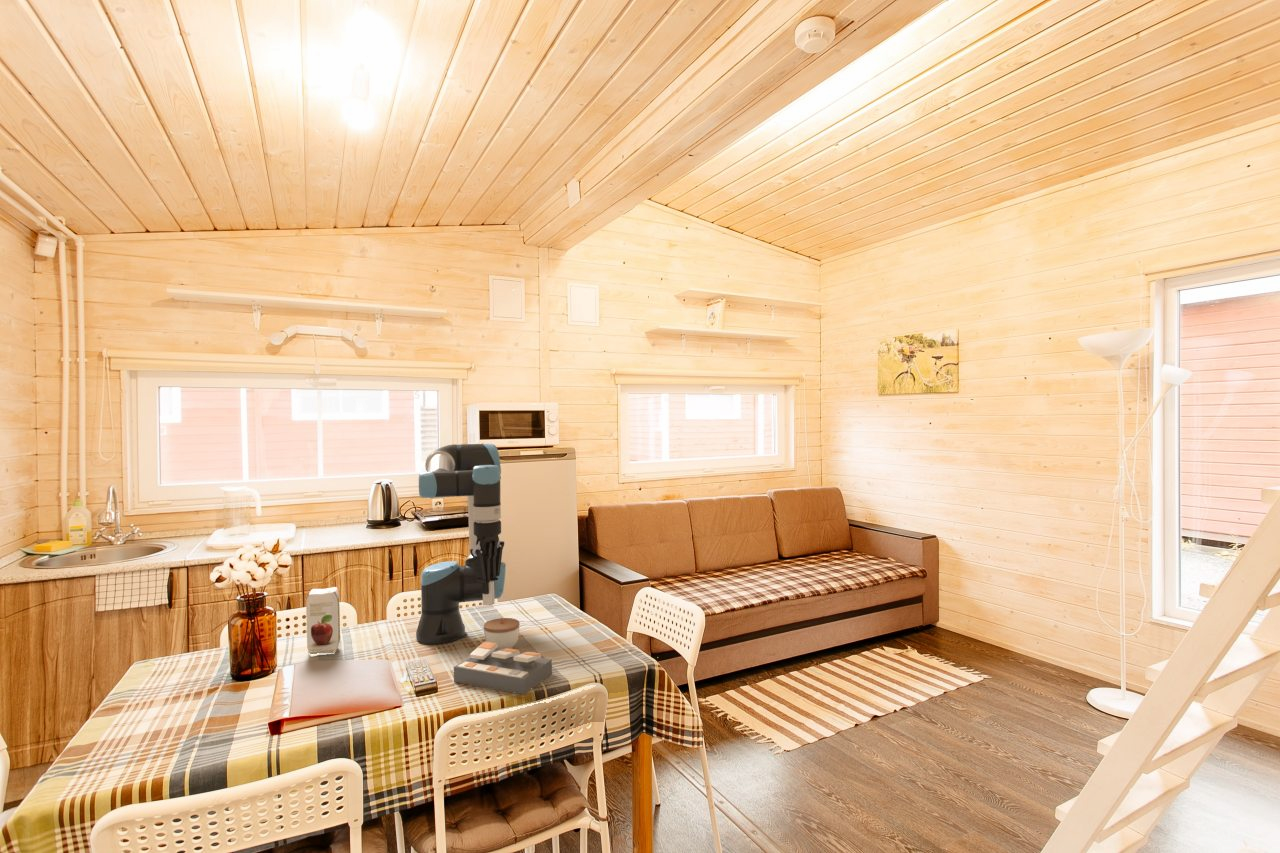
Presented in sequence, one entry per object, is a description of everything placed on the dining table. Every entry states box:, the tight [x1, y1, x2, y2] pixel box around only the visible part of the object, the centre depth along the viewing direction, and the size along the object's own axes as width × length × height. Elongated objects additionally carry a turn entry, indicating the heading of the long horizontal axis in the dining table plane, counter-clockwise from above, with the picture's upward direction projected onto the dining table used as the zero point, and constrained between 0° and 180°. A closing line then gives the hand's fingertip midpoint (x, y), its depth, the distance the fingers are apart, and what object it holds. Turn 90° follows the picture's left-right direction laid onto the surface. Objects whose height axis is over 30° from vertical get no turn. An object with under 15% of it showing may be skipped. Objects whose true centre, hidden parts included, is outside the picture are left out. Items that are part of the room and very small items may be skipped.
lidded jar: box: [483, 617, 520, 651], centre depth 193 cm, size 11×11×9 cm
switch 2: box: [491, 648, 520, 659], centre depth 172 cm, size 4×7×1 cm, turn 158°
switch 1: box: [469, 640, 498, 660], centre depth 174 cm, size 4×7×1 cm, turn 158°
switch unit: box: [453, 650, 553, 695], centre depth 171 cm, size 22×14×5 cm, turn 68°
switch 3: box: [513, 651, 542, 663], centre depth 169 cm, size 4×7×1 cm, turn 158°
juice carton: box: [305, 586, 341, 654], centre depth 191 cm, size 8×9×19 cm
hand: (488, 604), depth 176 cm, fingers closed
